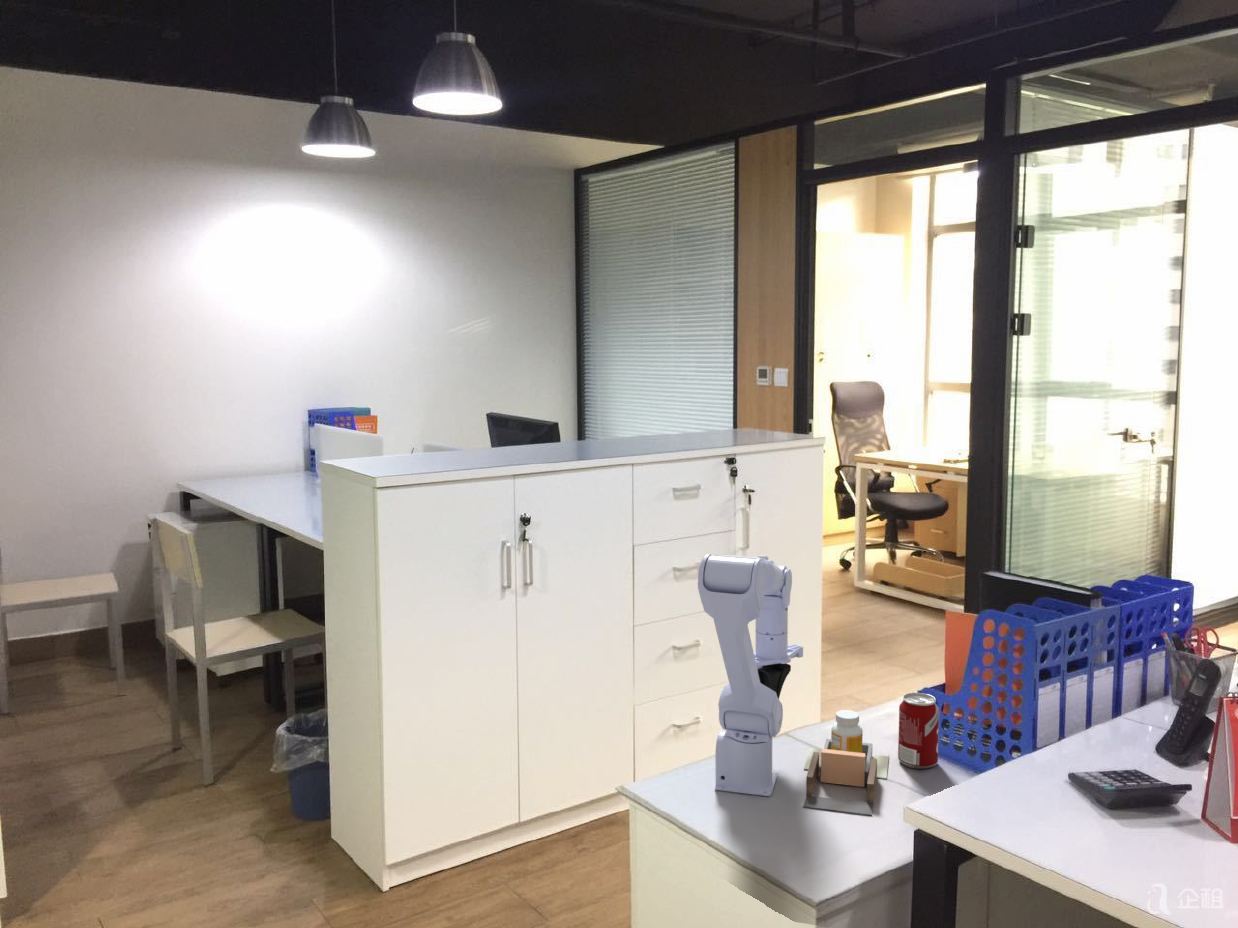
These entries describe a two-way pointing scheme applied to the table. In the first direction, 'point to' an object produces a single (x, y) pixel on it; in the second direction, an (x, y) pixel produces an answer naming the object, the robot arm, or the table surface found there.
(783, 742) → the table surface
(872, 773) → the track
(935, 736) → the soda can
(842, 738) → the supplement bottle
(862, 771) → the box
